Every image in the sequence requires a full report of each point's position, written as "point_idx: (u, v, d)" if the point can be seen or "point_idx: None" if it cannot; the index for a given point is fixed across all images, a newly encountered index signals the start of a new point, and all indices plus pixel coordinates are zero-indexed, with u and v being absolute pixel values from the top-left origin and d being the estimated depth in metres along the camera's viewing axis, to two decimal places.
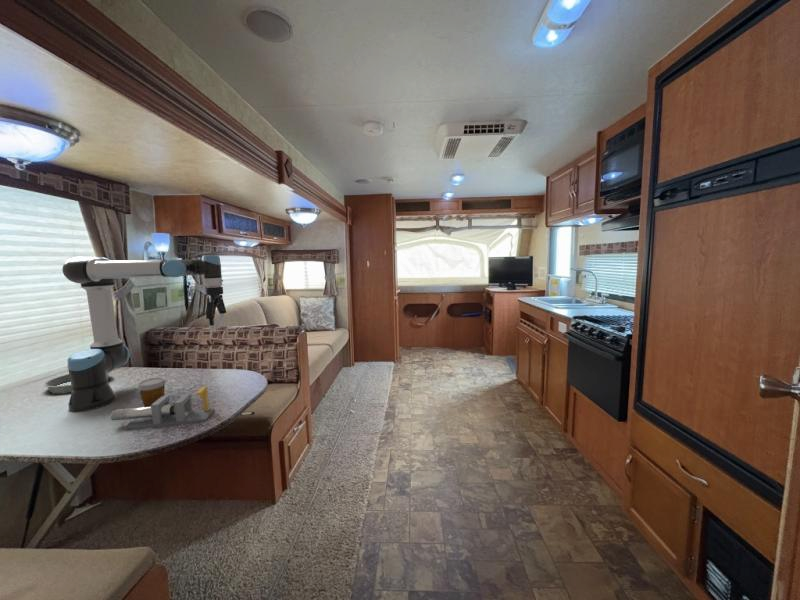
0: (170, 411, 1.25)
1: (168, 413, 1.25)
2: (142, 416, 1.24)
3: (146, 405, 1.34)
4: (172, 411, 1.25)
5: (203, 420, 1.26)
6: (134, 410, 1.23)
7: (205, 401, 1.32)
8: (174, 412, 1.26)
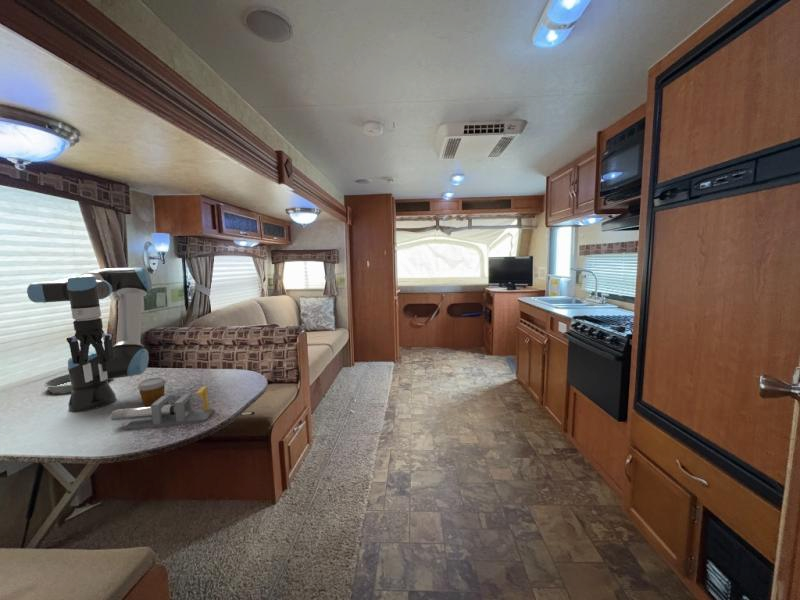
0: (170, 411, 1.25)
1: (168, 413, 1.25)
2: (142, 416, 1.24)
3: (146, 405, 1.34)
4: (172, 411, 1.25)
5: (203, 420, 1.26)
6: (134, 410, 1.23)
7: (205, 401, 1.32)
8: (174, 412, 1.26)
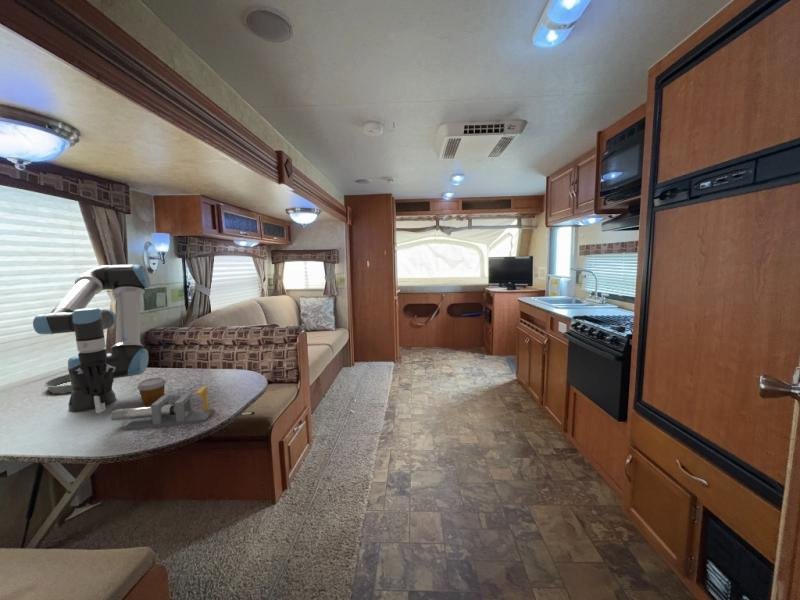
0: (170, 411, 1.25)
1: (168, 413, 1.25)
2: (142, 416, 1.24)
3: (146, 405, 1.34)
4: (172, 411, 1.25)
5: (203, 420, 1.26)
6: (134, 410, 1.23)
7: (205, 401, 1.32)
8: (174, 412, 1.26)
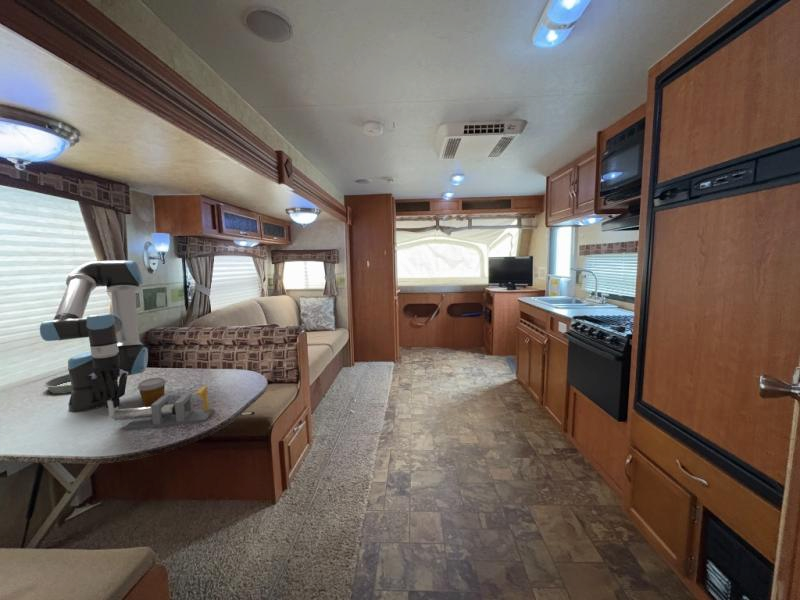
0: (172, 411, 1.25)
1: (170, 413, 1.25)
2: (144, 416, 1.24)
3: (146, 405, 1.34)
4: (174, 411, 1.25)
5: (203, 420, 1.26)
6: (136, 410, 1.23)
7: (205, 401, 1.32)
8: None
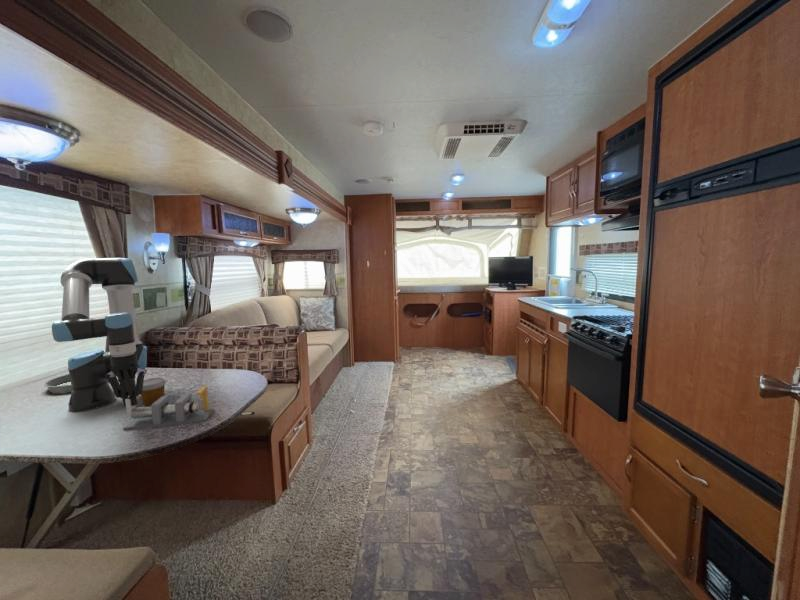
0: (189, 409, 1.26)
1: (187, 411, 1.27)
2: None
3: (146, 405, 1.34)
4: (191, 409, 1.27)
5: (203, 420, 1.26)
6: None
7: (205, 401, 1.32)
8: (193, 410, 1.27)
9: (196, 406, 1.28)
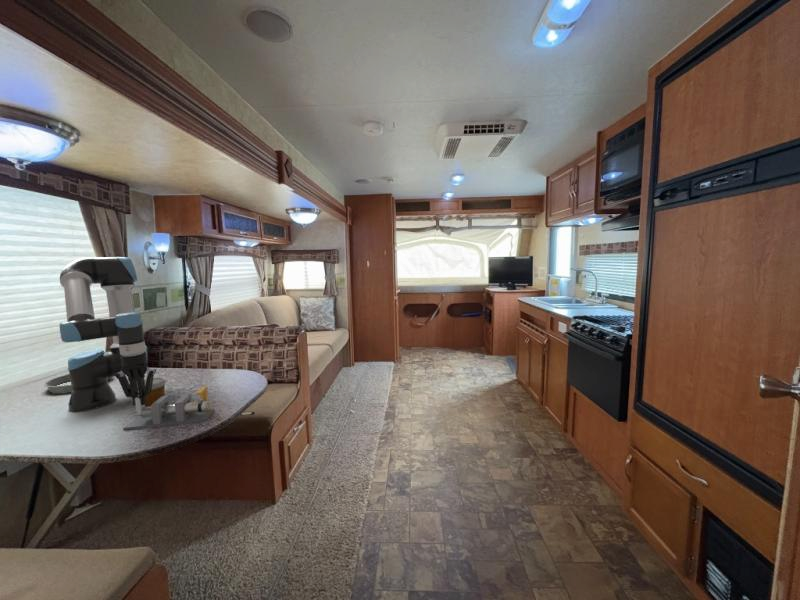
0: (198, 409, 1.27)
1: (196, 410, 1.27)
2: (171, 413, 1.26)
3: (146, 405, 1.34)
4: (200, 408, 1.27)
5: (203, 420, 1.26)
6: (163, 407, 1.25)
7: None
8: (202, 409, 1.27)
9: (204, 405, 1.29)
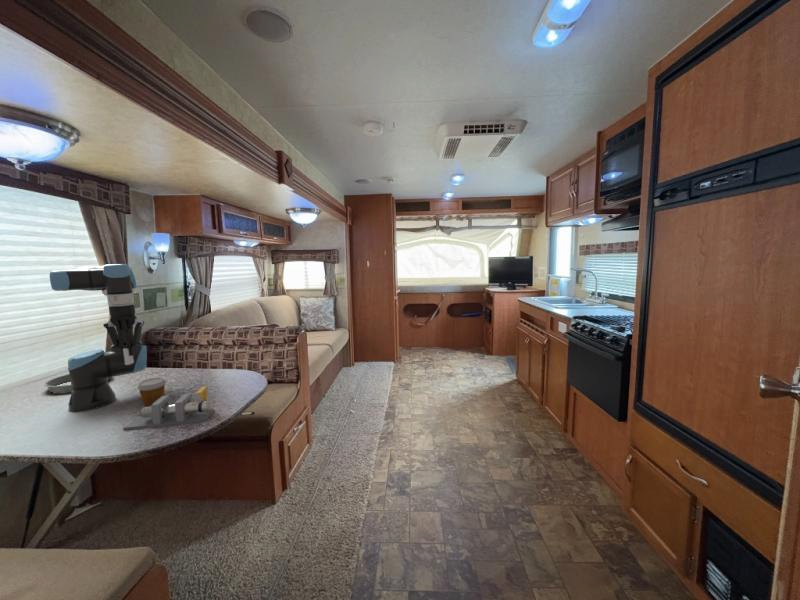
0: (198, 409, 1.27)
1: (196, 410, 1.27)
2: (171, 413, 1.26)
3: (146, 405, 1.34)
4: (200, 408, 1.27)
5: (203, 420, 1.26)
6: (163, 407, 1.25)
7: None
8: (202, 409, 1.28)
9: (205, 405, 1.29)
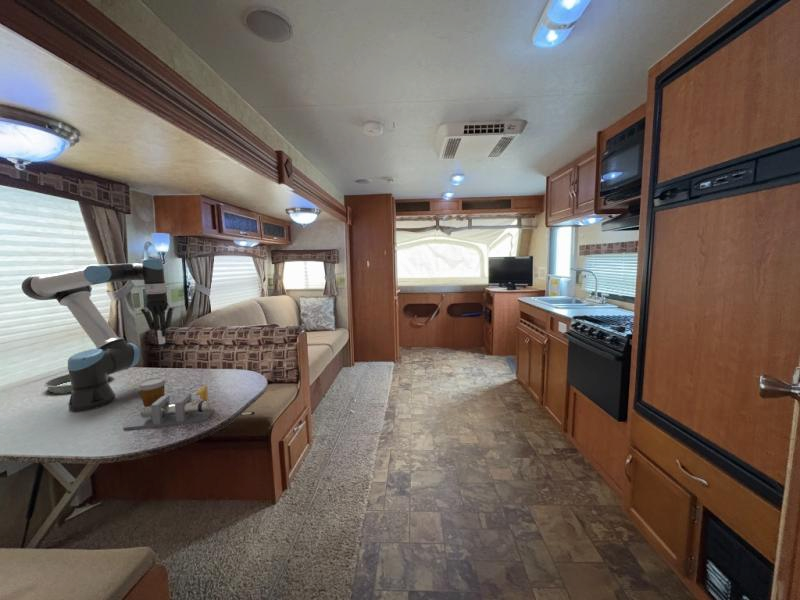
0: (198, 409, 1.27)
1: (196, 410, 1.27)
2: (171, 413, 1.26)
3: (146, 405, 1.34)
4: (200, 408, 1.27)
5: (203, 420, 1.26)
6: (163, 407, 1.25)
7: None
8: (202, 409, 1.28)
9: (205, 405, 1.29)
